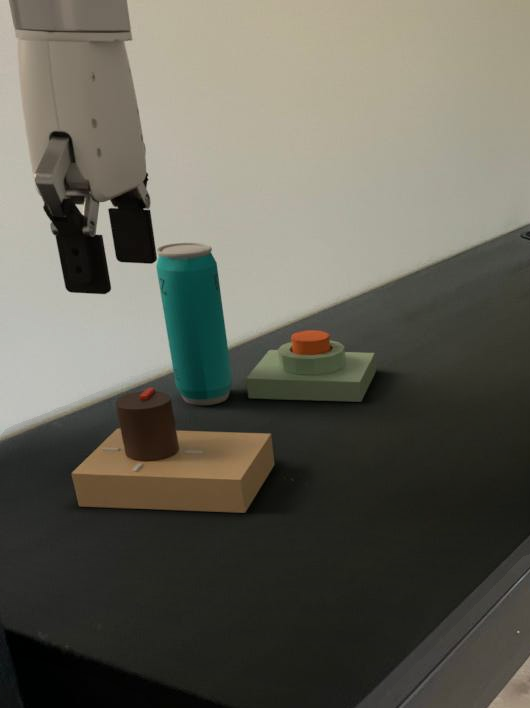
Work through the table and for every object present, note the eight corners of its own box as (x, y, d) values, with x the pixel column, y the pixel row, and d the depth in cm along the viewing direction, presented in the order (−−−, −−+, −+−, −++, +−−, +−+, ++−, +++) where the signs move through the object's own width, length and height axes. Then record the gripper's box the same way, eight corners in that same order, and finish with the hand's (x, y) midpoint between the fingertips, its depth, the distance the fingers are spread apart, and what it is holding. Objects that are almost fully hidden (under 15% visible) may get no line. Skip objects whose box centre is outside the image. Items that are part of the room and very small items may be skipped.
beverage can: (231, 387, 107) (211, 240, 99) (237, 404, 102) (217, 252, 94) (176, 392, 105) (151, 243, 97) (180, 410, 101) (155, 256, 93)
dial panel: (78, 506, 82) (70, 471, 80) (123, 459, 90) (116, 426, 88) (245, 513, 81) (240, 477, 79) (274, 464, 89) (271, 431, 88)
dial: (169, 462, 82) (159, 406, 79) (117, 460, 82) (106, 404, 80) (185, 442, 86) (177, 388, 83) (136, 440, 86) (125, 386, 83)
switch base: (248, 398, 104) (243, 361, 102) (271, 368, 112) (267, 333, 110) (361, 402, 103) (358, 364, 101) (376, 372, 112) (374, 336, 109)
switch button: (289, 357, 104) (287, 340, 103) (297, 345, 108) (295, 329, 107) (326, 358, 104) (325, 341, 103) (333, 346, 107) (332, 330, 106)
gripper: (69, 10, 74) (109, 250, 84) (-49, 14, 60) (15, 303, 69) (168, 14, 74) (196, 254, 83) (72, 19, 59) (120, 308, 69)
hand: (114, 276), depth 76 cm, fingers open, 9 cm apart
